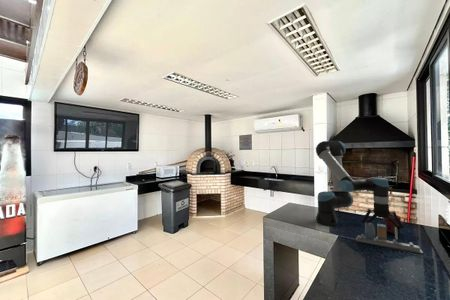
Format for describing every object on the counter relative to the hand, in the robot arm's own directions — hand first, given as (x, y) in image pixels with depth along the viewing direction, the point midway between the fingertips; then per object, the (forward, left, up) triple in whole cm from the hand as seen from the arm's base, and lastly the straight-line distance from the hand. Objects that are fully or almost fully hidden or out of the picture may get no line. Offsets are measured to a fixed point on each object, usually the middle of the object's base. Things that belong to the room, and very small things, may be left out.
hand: (382, 236), depth 121 cm
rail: (+1, -8, -2) cm, 8 cm away
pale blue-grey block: (0, 0, -2) cm, 2 cm away
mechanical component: (+8, +16, -2) cm, 18 cm away
